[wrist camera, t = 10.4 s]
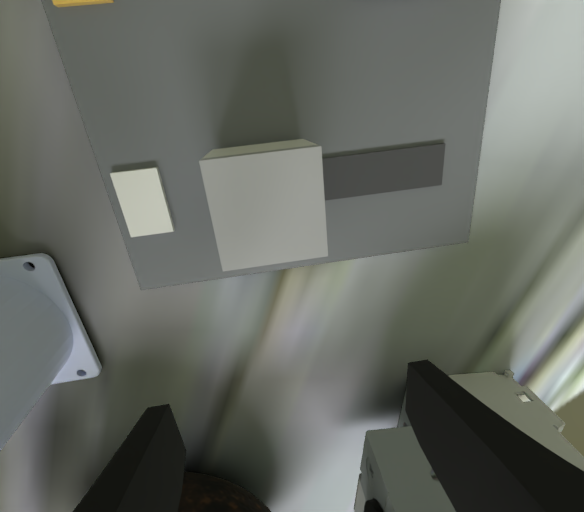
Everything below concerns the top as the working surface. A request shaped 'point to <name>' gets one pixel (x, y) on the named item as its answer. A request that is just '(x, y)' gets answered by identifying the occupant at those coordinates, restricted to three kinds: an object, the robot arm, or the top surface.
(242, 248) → the slider
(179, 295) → the top surface
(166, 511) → the robot arm
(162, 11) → the switch console
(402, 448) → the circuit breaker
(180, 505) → the glass bottle
